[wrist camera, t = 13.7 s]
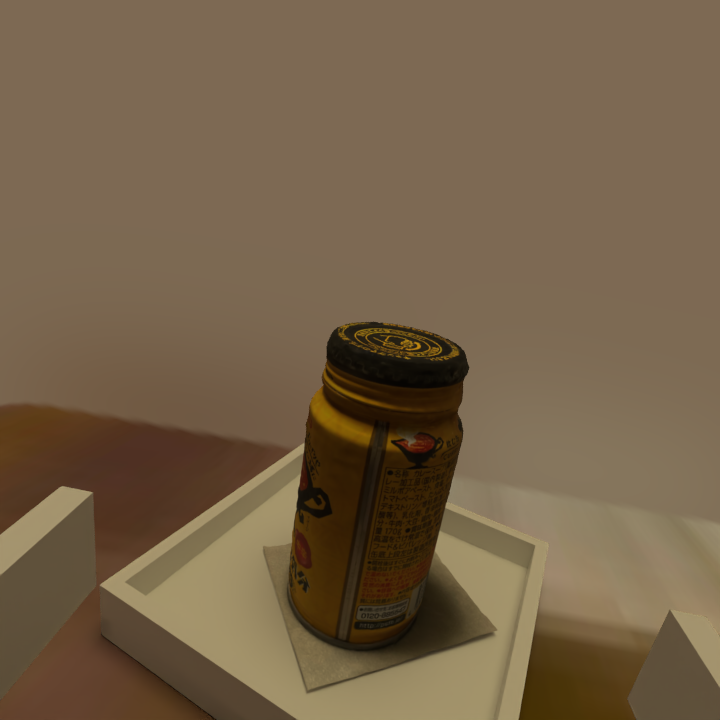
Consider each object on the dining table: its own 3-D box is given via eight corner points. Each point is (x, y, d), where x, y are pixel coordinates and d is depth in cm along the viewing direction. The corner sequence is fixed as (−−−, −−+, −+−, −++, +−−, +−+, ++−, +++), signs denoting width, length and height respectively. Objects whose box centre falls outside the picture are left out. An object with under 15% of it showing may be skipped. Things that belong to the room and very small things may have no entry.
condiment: (262, 550, 23) (287, 309, 19) (413, 524, 26) (460, 317, 22) (306, 695, 17) (357, 381, 13) (496, 636, 20) (581, 377, 16)
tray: (535, 581, 25) (549, 543, 24) (472, 909, 13) (495, 854, 12) (299, 477, 31) (303, 443, 30) (101, 634, 19) (99, 585, 18)
